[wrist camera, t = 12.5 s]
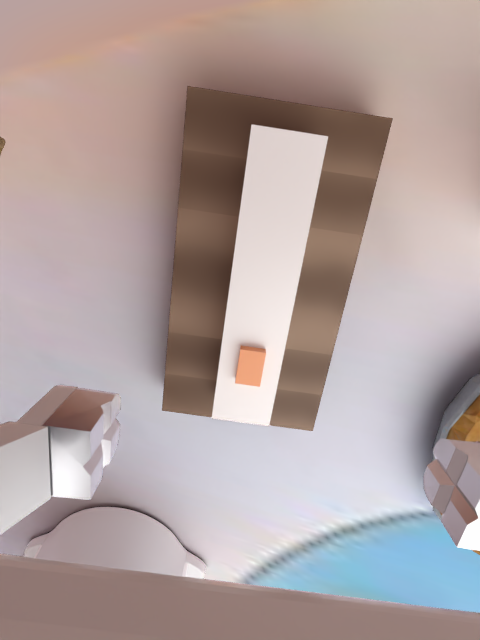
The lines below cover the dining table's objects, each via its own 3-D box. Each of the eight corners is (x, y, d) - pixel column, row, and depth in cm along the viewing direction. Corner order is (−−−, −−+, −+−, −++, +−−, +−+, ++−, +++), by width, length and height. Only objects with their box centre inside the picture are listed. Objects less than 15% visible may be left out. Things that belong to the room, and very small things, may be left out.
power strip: (265, 385, 29) (269, 431, 23) (218, 378, 29) (210, 423, 23) (310, 150, 23) (331, 134, 17) (251, 141, 23) (251, 121, 17)
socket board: (306, 409, 30) (312, 430, 27) (170, 390, 30) (162, 410, 27) (374, 128, 23) (392, 118, 20) (195, 99, 23) (187, 85, 20)
